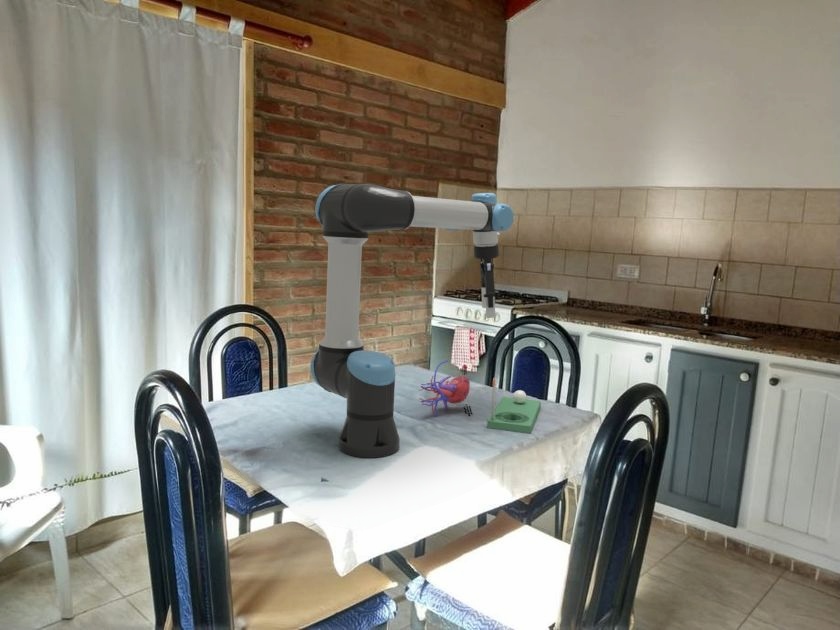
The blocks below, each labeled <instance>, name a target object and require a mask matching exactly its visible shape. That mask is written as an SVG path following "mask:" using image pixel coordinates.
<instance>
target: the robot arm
mask: <svg viewBox="0 0 840 630" xmlns="http://www.w3.org/2000/svg"><path fill="white" fill-rule="evenodd" d="M314 211H315V216H316V219H317V221H318V222H319V225H320V226H321V227H322V239H324V240H325V241H326V243H327V244H328V245H327V247H328V249H327V272H326V273H327V274H326V275H327V276H326V298H325V299H326V303H325V304H326V305H325V331H324V332H325V333H324V337H323V338H322V339H321V340H319V342H318V349H317V350H316V351H315V353H314V354H313V355H312V357H311V360H310V374H311V376H312V379H313V381H314V382H315V384H316V385H318V386H319V387H320V388H322V389H323V390H325V391H326V392H329V393H333V394H335V395H337V396H339V397H341V398H344V399H346V418H345V421H344V423H343V426H342V429H341V432H340V434H339V439H338V449H339V450H340V451H341V453H345V454H347V455H349V456H353V457H359V458H381V457H382V458H383V457H387V456H390V455H393V454H395V453H396V452H398V451H399V449H400V446H401V445H400V438H401V437H400V435H399V432H398V429H397V428H398V427H397V424H396V422H395V417H394V410H395V408H394V406H395V405H394V404H395V389H396V388H395V386H396V384H395V383H396V369H395V367H396V365H395V362H394V360H393V358H392V357H390V356H389V355H388V354H385V353H382V352H380V351H374V350H373V351H372V350H364V345H365V344H364V342H363V341H362V340H361V338H359V330H360V329H359V325H360V306H361V305H360V304H361V303H360V302H361V301H360V300H361V279H362V278H361V276H362V254H363V253H362V252H363V251H362V249H363V245H364V244H365V243H366V242H367V241H368V240H369V233H374V232H383V231H404V230H405V231H406V230H408V229H409V228H410V227H413V228H434V229H435V228H436V229H444V230H447V231H458V230H469V231H470V230H472V240H473V241H472V243H473V244H474V246H473V256H474V258H475V259H478V260H480V263H479V268H480V286H481V288H480V289H481V306H482V307H481V308H482V309H485V316H486V317H485V318H486V319H496V297H495V296H496V289H495V278H494V276H495V273H494V269H495V264H494V262H492V259H496V258H498V257H499V256H500V251H499V250H500V247H499V245H498V243H499V236H501V234H500V233H501V232H506V231H508V230H509V229H510V228H511V227H512V226H513V224H514V219H515V218H514V216H515V215H514V210H513V209H512V208H511V206H510V205H508V204H507V203H500V202H498V201H497V195H496V194H495V193H494V192H480V193H473V194H472V195H471V200H461V199H452V198H451V199H449V198H448V199H447V198H440V197H429V196H420V195H412V194H411V193H410V191H408V190H399V189H394V188H389V187H384V186H380V185H376V184H372V183H371V184H370V183H361V184H359V183H358V184H357V183H356V184H355V183H348V184H347V183H338V184H336V185H335V184H334V185H330V186H328V187H327V188H325V189H324V190H323V191H322V192H321V193H320V194H319V196H318V197H317V199H316V203H315V208H314Z"/></svg>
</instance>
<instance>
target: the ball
mask: <svg viewBox="0 0 840 630" xmlns="http://www.w3.org/2000/svg"><path fill="white" fill-rule="evenodd" d="M512 398H513V399H514V401H515V402H517V403H523V402H524V401H525V400H526V399H527V394H526V392H525V391H524V390H521V389H519V390H516V391H514V393H513V394H512Z"/></svg>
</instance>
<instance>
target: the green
mask: <svg viewBox="0 0 840 630" xmlns="http://www.w3.org/2000/svg"><path fill="white" fill-rule="evenodd" d="M496 392H497V377H493V380H492V396H491V397H492V400H491V414H490V416H489V417H488V419H487V423H486V428H487V429H492V428H495V429H494V430H500V429H503V431H507V432H508V431H510V432H515V433H516V432H517V433H525V434H532V430H533V428H534V425H535V423H536V420H537V418H538V415H539V412H540V410H541V403H542V401H541V400H536V399H535V400H534V399H528V398H526V400H525V401H524V402H523V403H517V402H515V401H514V399H513V397H508V396H507V397H506V396H502V397H501V398H500V400H499V402H498V403H497V405H496Z"/></svg>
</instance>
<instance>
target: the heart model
mask: <svg viewBox="0 0 840 630" xmlns="http://www.w3.org/2000/svg"><path fill="white" fill-rule="evenodd" d="M448 362H449V360H444V361H442V362H440V363H439V364H438V365H437V366H436V367H435V370H434V375H433V376H431V379H430V382H428V383H421V386H420V388H421V389H418V391H419V392H420V391H421V392H422V391H423V390H425V391H426V392H433V393H434V394H436V396H435V397H430V398H427V399H423V398H421V397H420V398H419V400H421V401H420V403H421V405H422V406H423V405H425V406H427V407H431V410H432V414H434V415H435V417H436V418H437V417H438V414H437V407H438V403H439V402H441V401H442V402H443V405H444V409H446V410H448V409H449V406H448V402H449V404H458V403H462V402H464V401H465V404H464V405H465V406H463V410H464V414H467V415H468V417H471V415H473V412H472V408H471V406H470V405H468V404H467V401H466V398H467V397H468V395H469V393H470V388H471V387H470V386H471V384H470V379H469V378H468V377H466V376H465V375H467V370H468V369H467V368H468V367H466V365H465V364H463V366H462V367H461V368H459V369H460V370H461V374H463V375H462V376H460V375H459V376H456V377H454V378H452V376H451V375H449V376H446V377H444V378H442V379H441V380H440V381H436V375H437V371H438V370H439V367H441V365H442V364H446V363H448ZM450 378H452V379H451V380H450V381H449V380H448V379H450ZM445 381H446V382H445ZM425 385H427V386H425Z"/></svg>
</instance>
